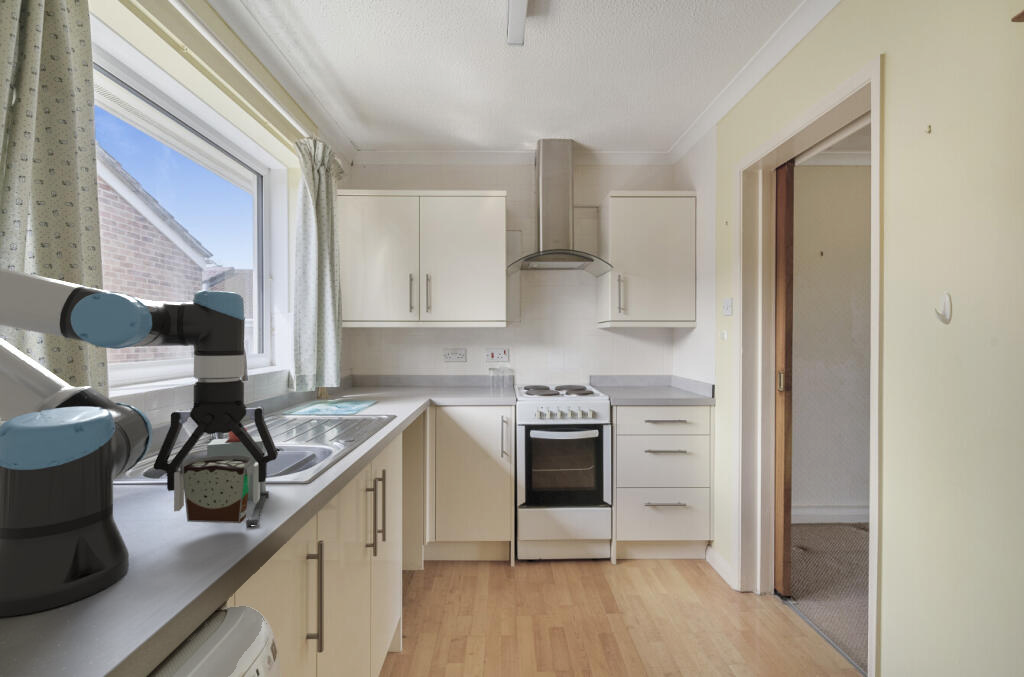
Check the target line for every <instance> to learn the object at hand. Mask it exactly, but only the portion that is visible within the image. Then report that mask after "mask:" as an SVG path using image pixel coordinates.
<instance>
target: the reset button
mask: <svg viewBox="0 0 1024 677" xmlns="http://www.w3.org/2000/svg"><path fill="white" fill-rule="evenodd" d="M245 429H246V431H247V432H248V428H247V427H245ZM227 436H228V437H227V439H228V441H229V442H241V441H240V440H239V438H238V437H237V436H235V435H234V433H233V432H232V431H231V432H229V433H228V435H227Z"/></svg>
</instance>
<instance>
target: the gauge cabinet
mask: <svg viewBox="0 0 1024 677" xmlns="http://www.w3.org/2000/svg"><path fill="white" fill-rule="evenodd" d="M251 437H252V439H253V440H254V441H255V442H256V444H257V445H258V446H259V447H260V449H261V450H262V451H263V453H264V454H265V455H266V454H267V452H266V449H265V447H264V444H263V442H262V439H261V437H260V435H259V436H251ZM220 455H243V456H248V457H250V458H251V461H253V464H255V463H256V462H257V461H256V460H255V459H254V457H253V456H252V455H251V454H250V452H249V451H248V450H247V449H246V447H245V446H244V445H243V444H242V442H229V441H228V438H218V439H212V440H211V441H209V443H207V445H206V457H210V456H220ZM266 486H267V479H266V480H265V482H260V493H262V492H264V491H267V490H266V489H267V488H266ZM249 500H253V473H252V474H251V475H250V482H249V492H248V501H249Z"/></svg>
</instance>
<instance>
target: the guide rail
mask: <svg viewBox="0 0 1024 677" xmlns="http://www.w3.org/2000/svg"><path fill="white" fill-rule="evenodd" d="M269 492H270V491H269V490H266V491H264V492H262V493H260V499H259V501H258V502H257V503H255V506H254V509H253V511H252V513H251V515H250V517H246V518H247V519H246V521H245V523H246V526H251V525H258V526H259V524H258V523H260V522H259V519H260V517H259V516H261V514H260V513H262V512H263V511H262V510H263V509H264V506H265V503H266V501H267V499H269ZM246 526H245V527H246Z"/></svg>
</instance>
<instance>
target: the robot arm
mask: <svg viewBox="0 0 1024 677" xmlns="http://www.w3.org/2000/svg"><path fill="white" fill-rule="evenodd" d="M244 304H245V303H244V298H243V296H242V295H241V294H239V293H236V292H231V291H223V290H222V291H221V290H198V291H196V292H195V293H194V295H193V298H192V301H187V302H186V301H184V302H183V301H182V302H176V301H154V300H153V301H152V300H149V299H144V298H142V297H141V298H139V297H135V296H132V295H129V294H127V293H126V294H124V293H122V292H116V291H108V290H105V289H99V288H94V287H88V286H85V285H80V284H77V283H72V282H67V281H63V280H59V279H55V278H49V277H45V276H41V275H36V274H31V273H27V272H22V271H18V270H13V269H10V268H9V269H8V268H6V267H0V326H1V327H8V328H11V329H17V330H21V331H22V330H23V331H29V332H34V333H40V334H44V335H50V336H56V337H61V338H67V339H72V340H75V341H81V342H87V344H90V345H92V346H96V347H98V348H99V347H100V348H105V349H106V348H107V349H114V350H116V349H117V350H118V349H124V348H125V349H126V348H136V347H170V346H171V347H172V346H173V347H174V346H175V347H178V346H180V347H181V346H182V347H185V346H186V347H189V346H193V378H194V379H196V380H197V381H195V382H194V383H193V405H192V409H191V410H182V409H177V410H176V411H175V410H174V411H173V412H171V414H170V426H169V429H168V431H167V433H166V436H165V438H164V440H163V442H162V445H161V447H160V449H159V452H158V454H157V456H156V459H155V462H154V463H153V469H154V470H156V471H157V470H161V471H165V473H166V476H167V477H166V484H167V485H166V489H167V491H168V492H172V491H173V502H174V503H173V512H180V511H181V509H182V508H184V506H185V493H184V483H183V474H180V466H181V465H182V462H184V460H185V459H186V457H187V456H188V455H189V454H190V452H191V451H192V450H193V448H194V447H195V446H196V444H197V443H198V442H199V440H200V439H201V438H202V436H203V435H204V434H207V435H213V434H217V433H221V434H229V432H231V431H232V432H233V433H234V435H235V436H237V437H238V438H239V440H240V441H241V442H242V444H243V445H244V446H245V447H246V449H247V450H248V451H249V452H250V454H251V455H252V456H253V457H254V459H255V460H256V461H257V462H256V463H255V464H254V469H255V471H254V473H253V499H252V503H253V504H256V503H257V502H258V501H259V499H260V482H265V480H266V481H267V477H268V474H267V473H268V472H267V471H268V469H267V468H268V467H267V466H268V465H267V464H268V463H270V462H272V461H275V460H277V458H278V455H279V453H278V450H277V447H276V446H275V445H276V444H275V442H274V441H273V437H272V435H271V433H270V431H269V428H268V425H267V424H266V420H265V409H264V407H263V406H257V407H246V404H245V382H244V381H243V380H242V378H243V377H244V376H245V324H246V323H245V321H246V318H245V309H244V308H245V307H244ZM246 415H247V416H248V417H249V418H250V420H251V421H254V424H255V427H256V429H257V431H258V435H259V436H260V437H261V439H262V442H263V444H264V447H265V449H266V455H265V454H264V453H263V451H262V450H261V449H260V447H259V446H258V445H257V444H256V442H255V441H254V440H253V439H252V437H253V436H251V435H250V433H249V432H248V430H247V431H246V429H245V428H246V427H245V426H244V425H243V423H242V422H241V421H243V419H244V418H245V416H246ZM189 418H190V419H191V420H192V421H193V422H194V423H195V424H196V425H197V427H195V429H194V430H193V432H192V433H191V435H190V437H188V439H187V440H186V441H185V443H184V444H183V445H182V447H181V449H179V451H178V452H177V453H176V455H175V456H174V457H173V458H172V460H171V461H169V458H170V456H171V454H172V451H173V450H174V447H175V444H176V442H177V439H178V437H179V435H180V433H181V430H182V428H183V425H184V424H186V423H187V422H188V420H189ZM0 419H1V420H3V421H4V422H3V423H1V424H0V618H1V617H12V616H20V615H26V614H27V615H29V614H31V613H32V614H33V613H37V612H42V611H45V610H49V609H55V608H58V607H60V606H64V605H68V604H70V603H74V602H76V601H79V600H82V599H84V598H86V597H89V596H91V595H94V594H96V593H98V592H101V591H102V590H105V589H106V588H108V587H109V586H112V585H113V584H115V583H116V582H118V581H119V580H120V579H121V578H123V577H124V576H125V575H126V574H127V573H128V571H129V566H130V565H129V564H130V563H129V562H130V561H129V557H130V556H129V555H130V554H129V550H128V547H127V546H126V543H125V541H124V539H123V536H122V534H121V532H120V530H119V528H118V526H117V524H116V521H115V519H114V480H115V479H116V478H118V477H119V476H121V475H122V474H124V473H126V472H129V471H130V470H132V469H133V468H134V467H135V466H136V465H137V464H138V463H139V462H141V461H142V459H143V458H144V457H145V456H146V455H147V453H148V451H149V450H150V448H151V445H152V441H153V437H154V436H153V434H154V431H153V426H152V423H151V421H150V419H149V418H148V416H147V415H146V414H145V413H144V412H143V411H142V410H140V409H138V408H137V407H135V406H133V405H130V404H126V403H122V402H114V401H113V400H112V399H110V398H108V397H107V396H105V395H104V394H103V393H101V392H100V391H98V390H97V389H95V387H92V386H90V385H89V386H88V385H87V386H72V385H70V384H69V383H68V382H66V381H65V380H63V379H62V378H60V377H58V376H57V375H56V374H54V373H53V372H52V371H50V370H48V369H47V368H46V367H44V366H43V365H41V364H40V363H39V362H37V361H35V360H33V358H31V357H29V356H28V355H26V354H25V353H24V352H22V351H21V350H20V349H18V348H16V347H15V346H13V345H12V344H11V343H9V342H8V341H7V340H5V339H4V338H2V337H0Z"/></svg>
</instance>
